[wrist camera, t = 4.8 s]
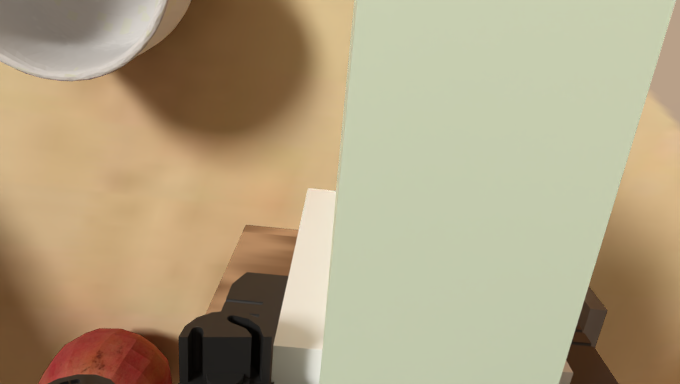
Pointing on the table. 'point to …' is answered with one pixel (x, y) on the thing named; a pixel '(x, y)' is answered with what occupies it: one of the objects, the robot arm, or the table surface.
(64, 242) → the table surface
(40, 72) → the teacup
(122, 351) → the fruit
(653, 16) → the door
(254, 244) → the wooden shelf unit
